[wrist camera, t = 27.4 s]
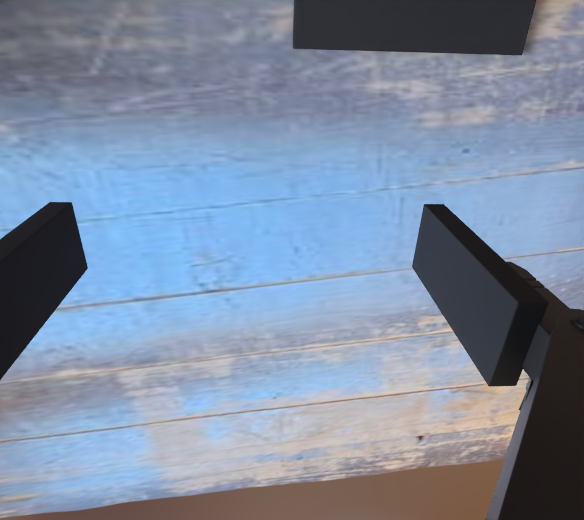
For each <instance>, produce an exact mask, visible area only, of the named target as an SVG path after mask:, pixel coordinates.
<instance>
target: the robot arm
mask: <svg viewBox="0 0 584 520" xmlns="http://www.w3.org/2000/svg"><path fill="white" fill-rule="evenodd" d="M412 267H413V269H414V270H415V272H416V274H417V275H418V277H419V278H420V280H421V281H422V283H423V285H424V286H425V288H426V289H427V291H428V292H429V294H430V295H431V297H432V299H433V300H434V302H435V303H436V305H437V306H438V308H439V309H440V311H441V313H442V314H443V316H444V317H445V319H446V320H447V322H448V323H449V325H450V327H451V328H452V330H453V331H454V333H455V334H456V336H457V337H458V339H459V341H460V342H461V344H462V345H463V347H464V348H465V350H466V351H467V353H468V355H469V356H470V358H471V359H472V361H473V362H474V364H475V365H476V367H477V369H478V370H479V372H480V373H481V375H482V376H483V378H484V379H485V381H486V383H487V384H488V386H516V385H517V382H518V379H519V377H520V374H521V372H522V369H524V370H525V372H526V373H527V374H528V375H529V377H530V378H531V379H532V380H531V382H530V384H529V387H528V389H527V392H526V394H525V396H524V399H523V401H522V404H521V406H520V408H519V410H521V411H520V414H519V417H518V420H517V423H516V426H515V429H514V432H513V436H512V439H511V442H510V445H509V448H508V451H507V454H506V457H505V460H504V464H503V467H502V470H501V473H500V476H499V479H498V482H497V485H496V489H495V491H494V495H493V498H492V501H491V504H490V507H489V510H488V513H487V517H486V519H485V520H584V310H580V309H569V308H568V307H567V306H566V305H565V304H564V303H563V302H562V301H560V300H559V299H558V298H557V297H556V296H555V295H554V294H553V293H551V292H550V291H549V290H548V289H547V288H544V285H542V284H541V283H540V282H539V281H536V278H534V277H533V276H532V275H531V274H530V273H529V272H528V271H527V270H525V269H523V268H521V267H520V266H518V265H516V264H514V263H512V262H505V261H504V260H503V259H502V258H501V257H500V256H499V255H498V254H497V253H496V252H494V251H493V250H492V249H491V248H490V247H489V246H488V245H487V244H486V243H485V242H484V241H483V240H481V239H480V238H479V237H478V236H477V235H476V234H475V233H474V232H473V231H472V230H471V229H470V228H469V227H467V226H466V225H465V224H464V223H463V222H462V221H461V220H460V219H459V218H458V217H457V216H456V215H455V214H453V213H452V212H451V211H450V210H449V209H448V208H447V207H446V206H445V205H444V204H424V208H423V213H422V218H421V223H420V228H419V234H418V239H417V244H416V249H415V254H414V260H413V265H412ZM87 269H88V267H87V263H86V259H85V255H84V251H83V247H82V243H81V238H80V234H79V230H78V226H77V222H76V218H75V214H74V210H73V206H72V202H50V203H48V204H47V205H46V206H44V207H43V208H42V209H40V210H39V211H38V212H36V213H35V214H34V215H32V216H31V217H30V218H28V219H27V220H26V221H24V222H23V223H21V224H20V225H19V226H17V227H16V228H15V229H13V230H12V231H11V232H9V233H8V234H7V235H5V236H4V237H3V238H1V239H0V380H1V378H2V377H3V376H4V374H5V373H6V372H7V371H8V369H9V368H10V367H11V366H12V364H13V363H14V362H15V360H16V359H17V358H18V357H19V355H20V354H21V353H22V352H23V350H24V349H25V348H26V346H27V345H28V344H29V343H30V341H31V340H32V339H33V337H34V336H35V335H36V334H37V332H38V331H39V330H40V329H41V327H42V326H43V325H44V323H45V322H46V321H47V320H48V318H49V317H50V316H51V315H52V313H53V312H54V311H55V309H56V308H57V307H58V306H59V304H60V303H61V302H62V300H63V299H64V298H65V297H66V295H67V294H68V293H69V292H70V290H71V289H72V288H73V286H74V285H75V284H76V283H77V281H78V280H79V279H80V278H81V276H82V275H83V274H84V272H85V271H86V270H87Z"/></svg>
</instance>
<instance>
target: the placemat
mask: <svg viewBox="0 0 584 520" xmlns="http://www.w3.org/2000/svg"><path fill="white" fill-rule="evenodd" d="M535 3H536V0H294V26H293V48H294V49H326V50H361V51H396V52H431V53H465V54H500V55H522V53H523V49H524V45H525V41H526V37H527V34H528V30H529V26H530V22H531V18H532V15H533V11H534V7H535Z"/></svg>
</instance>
